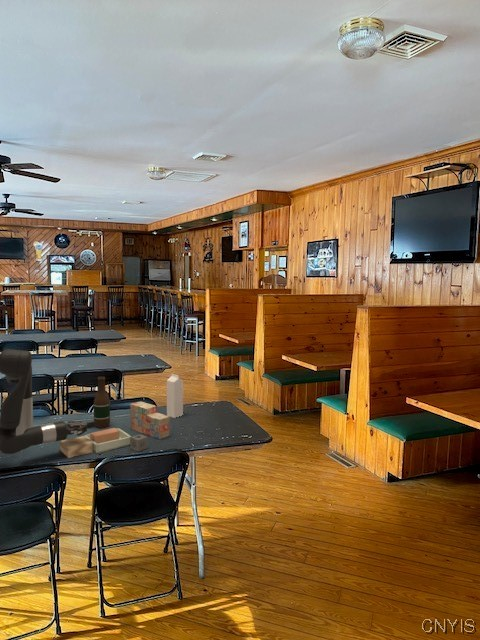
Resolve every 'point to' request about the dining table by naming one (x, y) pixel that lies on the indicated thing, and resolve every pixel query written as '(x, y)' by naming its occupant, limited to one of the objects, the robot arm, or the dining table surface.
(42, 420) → the dining table surface
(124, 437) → the tray
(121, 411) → the dining table surface
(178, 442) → the dining table surface
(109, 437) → the terracotta block
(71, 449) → the cream wooden slab
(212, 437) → the dining table surface
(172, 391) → the milk
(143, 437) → the dice cube
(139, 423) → the stack of blocks
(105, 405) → the beer bottle
